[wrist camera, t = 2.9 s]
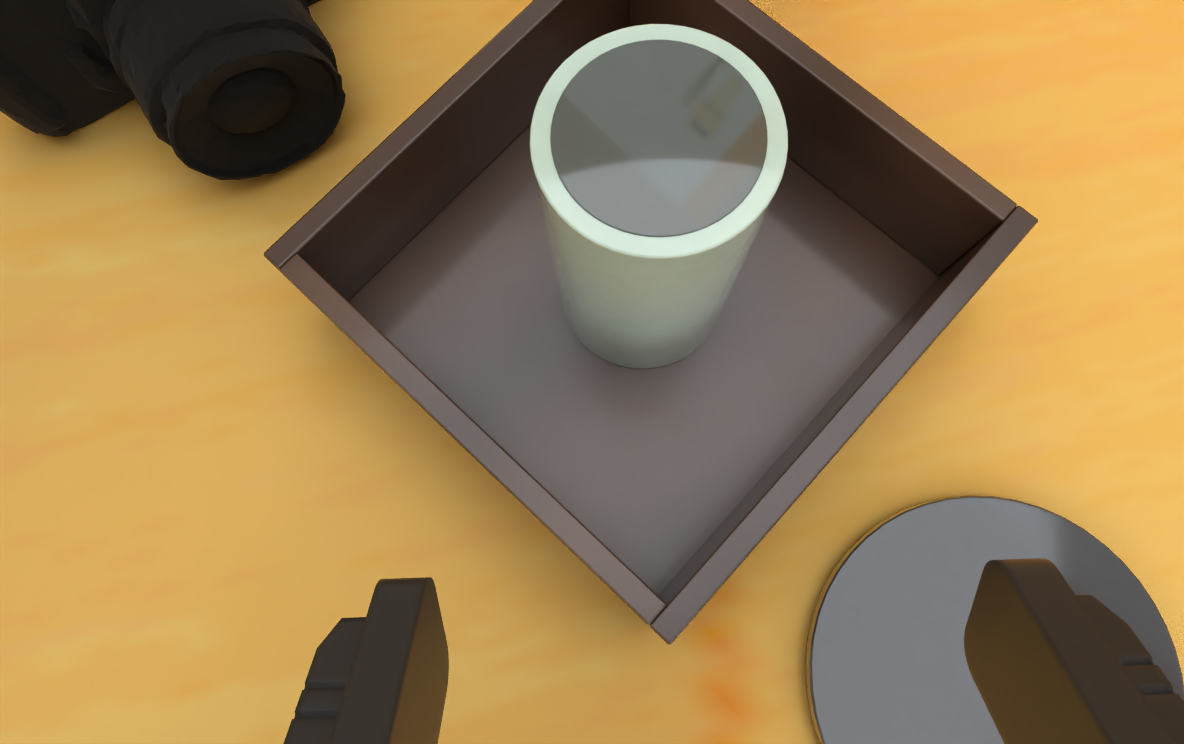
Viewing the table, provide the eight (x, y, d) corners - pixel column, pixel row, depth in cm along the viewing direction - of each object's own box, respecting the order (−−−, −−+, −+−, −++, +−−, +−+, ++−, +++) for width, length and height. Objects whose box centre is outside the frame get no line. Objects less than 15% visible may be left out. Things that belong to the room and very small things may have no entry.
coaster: (731, 687, 24) (733, 691, 24) (951, 426, 26) (959, 423, 25) (1027, 971, 22) (1038, 982, 22) (1245, 670, 24) (1261, 673, 23)
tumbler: (525, 294, 27) (475, 142, 17) (636, 182, 27) (649, -24, 18) (647, 403, 26) (669, 310, 16) (758, 284, 26) (843, 126, 17)
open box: (325, 308, 27) (261, 253, 22) (626, 17, 30) (629, -92, 25) (658, 627, 25) (669, 645, 20) (960, 281, 27) (1039, 219, 22)
